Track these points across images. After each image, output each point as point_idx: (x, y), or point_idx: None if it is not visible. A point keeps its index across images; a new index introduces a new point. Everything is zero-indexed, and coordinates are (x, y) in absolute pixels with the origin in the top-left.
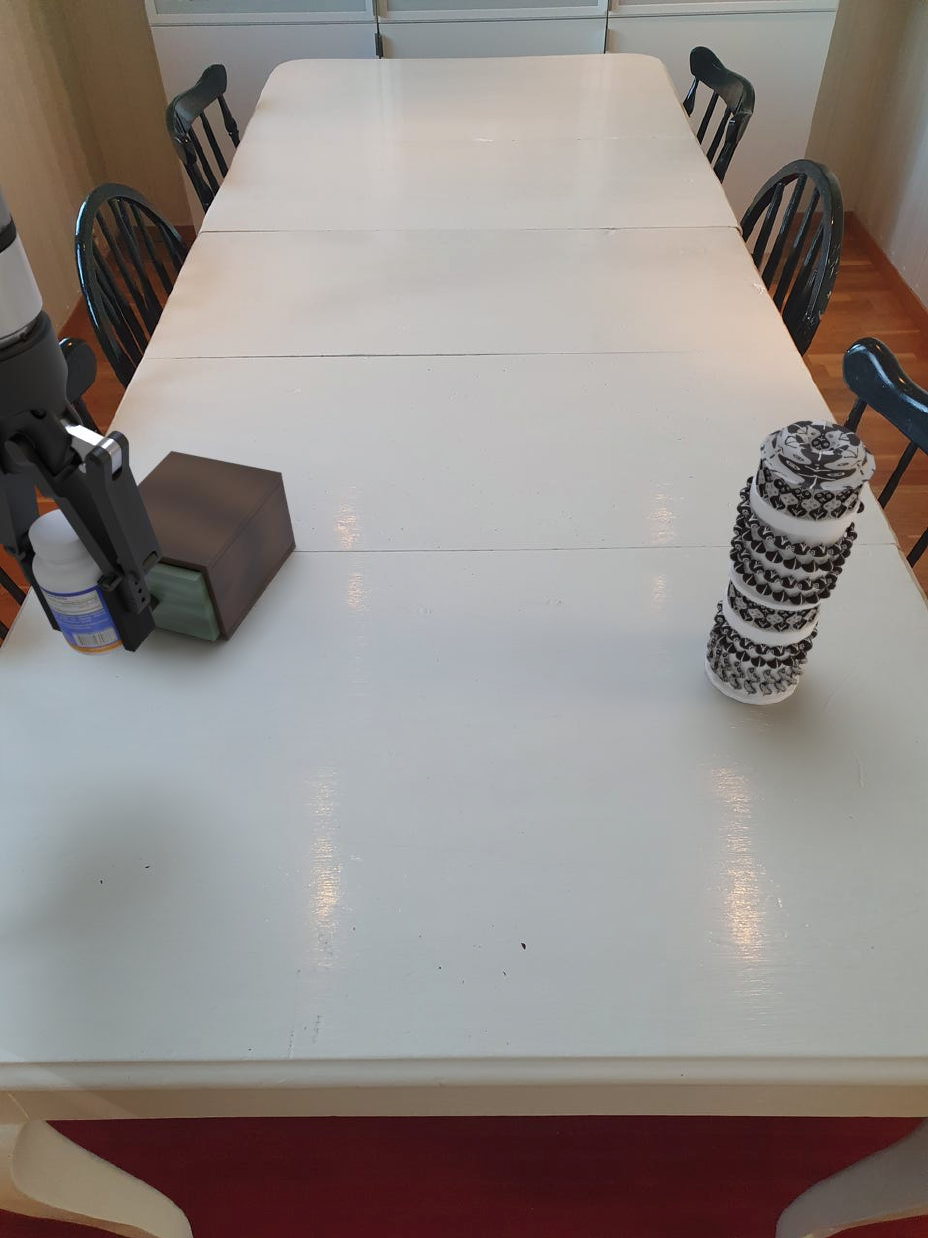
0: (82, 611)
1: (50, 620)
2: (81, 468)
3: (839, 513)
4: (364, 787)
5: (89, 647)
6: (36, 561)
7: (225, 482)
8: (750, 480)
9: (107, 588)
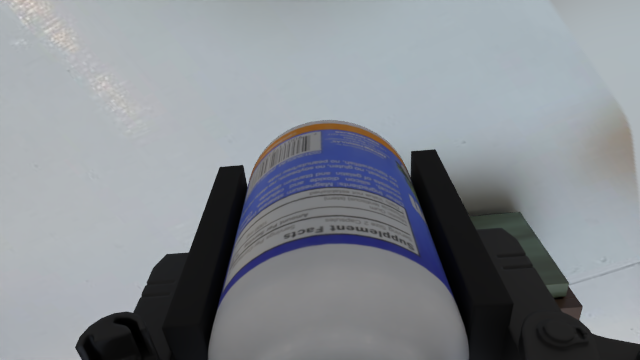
0: (263, 215)
1: (436, 164)
2: None
3: None
4: (85, 128)
5: (292, 137)
6: (425, 331)
7: None
8: None
9: (114, 322)
